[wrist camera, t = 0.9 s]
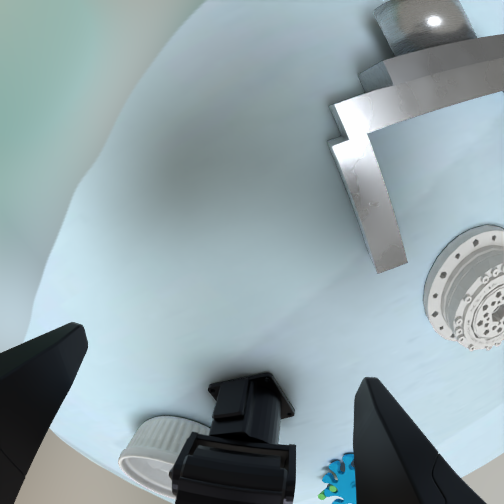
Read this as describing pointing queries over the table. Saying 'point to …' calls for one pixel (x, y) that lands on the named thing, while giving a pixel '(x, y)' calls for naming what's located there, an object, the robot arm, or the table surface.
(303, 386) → the table surface
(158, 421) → the ramekin
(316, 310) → the table surface
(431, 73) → the clevis bracket
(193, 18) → the table surface
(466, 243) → the mechanical component
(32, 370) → the robot arm
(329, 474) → the gear
